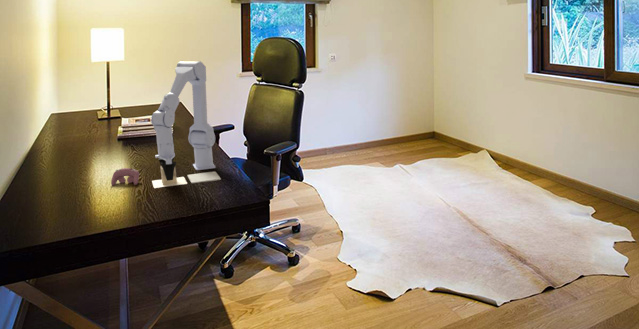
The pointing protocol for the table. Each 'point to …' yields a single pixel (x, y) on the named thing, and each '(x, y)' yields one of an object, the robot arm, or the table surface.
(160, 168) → the maple block
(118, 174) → the video game controller
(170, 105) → the robot arm
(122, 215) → the table surface
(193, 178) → the grey mat
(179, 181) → the cream card
